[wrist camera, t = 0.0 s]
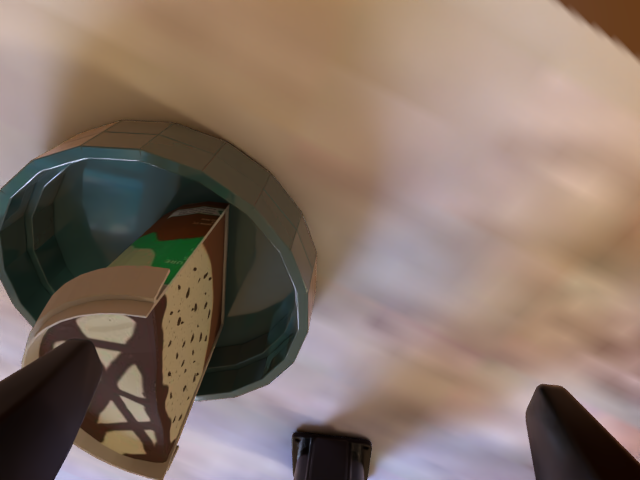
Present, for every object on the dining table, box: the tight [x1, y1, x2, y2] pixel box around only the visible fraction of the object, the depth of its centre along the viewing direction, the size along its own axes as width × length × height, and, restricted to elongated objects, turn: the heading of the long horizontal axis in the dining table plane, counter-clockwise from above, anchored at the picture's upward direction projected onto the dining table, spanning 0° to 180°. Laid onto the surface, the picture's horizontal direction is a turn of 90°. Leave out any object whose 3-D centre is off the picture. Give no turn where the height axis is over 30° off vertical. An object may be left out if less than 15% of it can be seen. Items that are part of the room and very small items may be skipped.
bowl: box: [0, 120, 317, 401], centre depth 25 cm, size 17×17×4 cm
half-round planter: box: [22, 201, 229, 480], centre depth 22 cm, size 12×6×10 cm, turn 171°
